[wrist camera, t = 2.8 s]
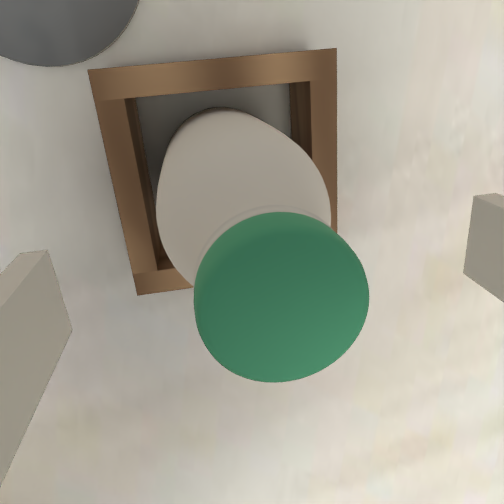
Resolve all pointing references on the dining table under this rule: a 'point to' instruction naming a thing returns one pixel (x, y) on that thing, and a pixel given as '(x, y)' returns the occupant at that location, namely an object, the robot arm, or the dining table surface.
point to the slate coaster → (61, 29)
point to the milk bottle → (258, 248)
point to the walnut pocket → (193, 80)
